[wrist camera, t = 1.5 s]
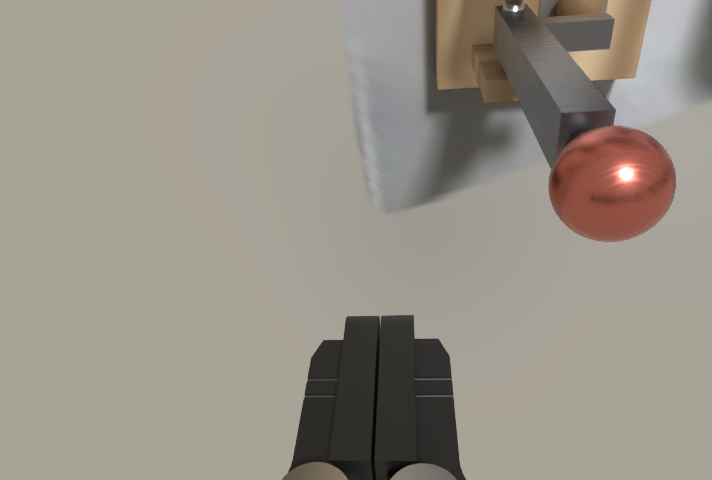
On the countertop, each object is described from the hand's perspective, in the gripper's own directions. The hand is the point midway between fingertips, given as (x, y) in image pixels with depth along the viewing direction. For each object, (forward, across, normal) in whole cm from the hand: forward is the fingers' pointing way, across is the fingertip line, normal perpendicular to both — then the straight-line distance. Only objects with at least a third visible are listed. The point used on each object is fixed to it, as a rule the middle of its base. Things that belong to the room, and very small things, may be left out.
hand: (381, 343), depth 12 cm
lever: (+26, -8, 0) cm, 28 cm away
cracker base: (+34, -10, 0) cm, 36 cm away
